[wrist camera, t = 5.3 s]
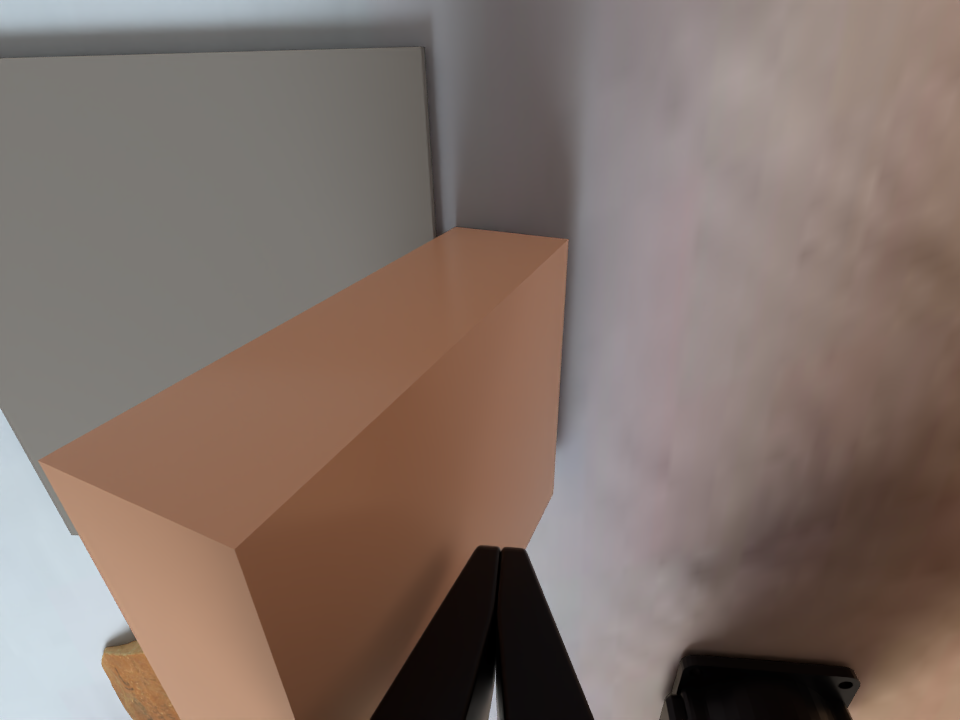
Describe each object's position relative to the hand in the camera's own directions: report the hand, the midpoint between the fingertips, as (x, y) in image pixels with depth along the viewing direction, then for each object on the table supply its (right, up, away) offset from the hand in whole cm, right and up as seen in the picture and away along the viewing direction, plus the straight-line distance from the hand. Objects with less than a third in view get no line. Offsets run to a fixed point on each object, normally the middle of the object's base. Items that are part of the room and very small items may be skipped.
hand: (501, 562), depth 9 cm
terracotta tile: (0, +3, +6) cm, 7 cm away
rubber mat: (-9, +4, +7) cm, 12 cm away
